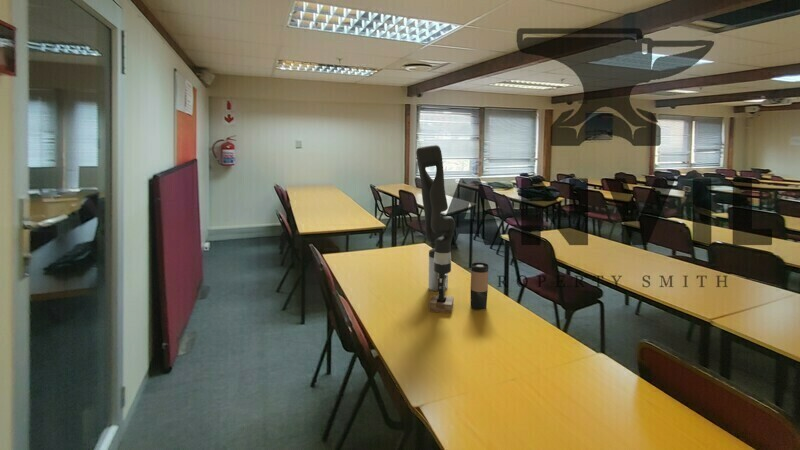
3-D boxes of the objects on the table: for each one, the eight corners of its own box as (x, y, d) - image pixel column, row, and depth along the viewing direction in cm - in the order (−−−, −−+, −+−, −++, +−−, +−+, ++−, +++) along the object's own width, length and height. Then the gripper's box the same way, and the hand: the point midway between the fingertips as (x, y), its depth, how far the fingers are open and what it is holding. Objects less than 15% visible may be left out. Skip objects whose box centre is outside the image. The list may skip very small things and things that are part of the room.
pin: (440, 306, 189) (441, 285, 187) (445, 307, 187) (446, 286, 185) (436, 307, 187) (437, 286, 185) (441, 309, 185) (441, 288, 183)
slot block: (432, 303, 192) (432, 295, 192) (453, 304, 190) (453, 296, 190) (428, 311, 183) (429, 303, 182) (451, 313, 181) (451, 304, 180)
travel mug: (488, 305, 189) (490, 263, 185) (484, 311, 183) (486, 268, 179) (472, 302, 193) (473, 261, 189) (467, 308, 186) (469, 266, 182)
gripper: (436, 256, 190) (435, 289, 193) (432, 265, 176) (431, 301, 179) (452, 257, 188) (451, 290, 192) (449, 266, 175) (449, 302, 178)
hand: (442, 295), depth 185 cm, fingers open, 8 cm apart
